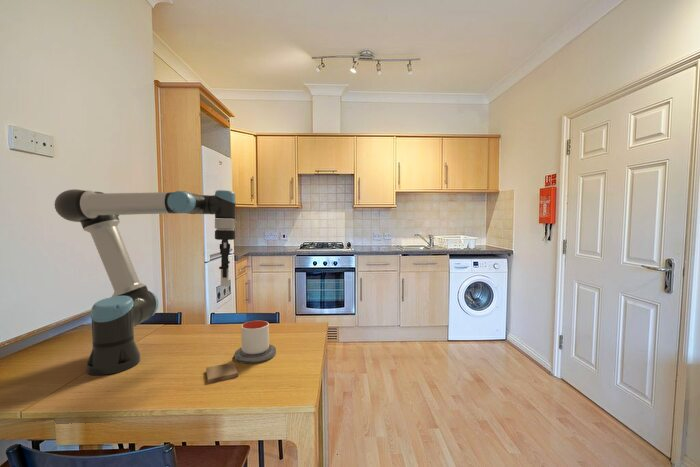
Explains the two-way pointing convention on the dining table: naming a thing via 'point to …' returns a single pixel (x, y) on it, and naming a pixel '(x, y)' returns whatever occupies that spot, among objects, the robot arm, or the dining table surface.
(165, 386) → the dining table surface
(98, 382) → the dining table surface
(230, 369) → the oak coaster
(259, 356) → the grey plate
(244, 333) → the cup
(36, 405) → the dining table surface
